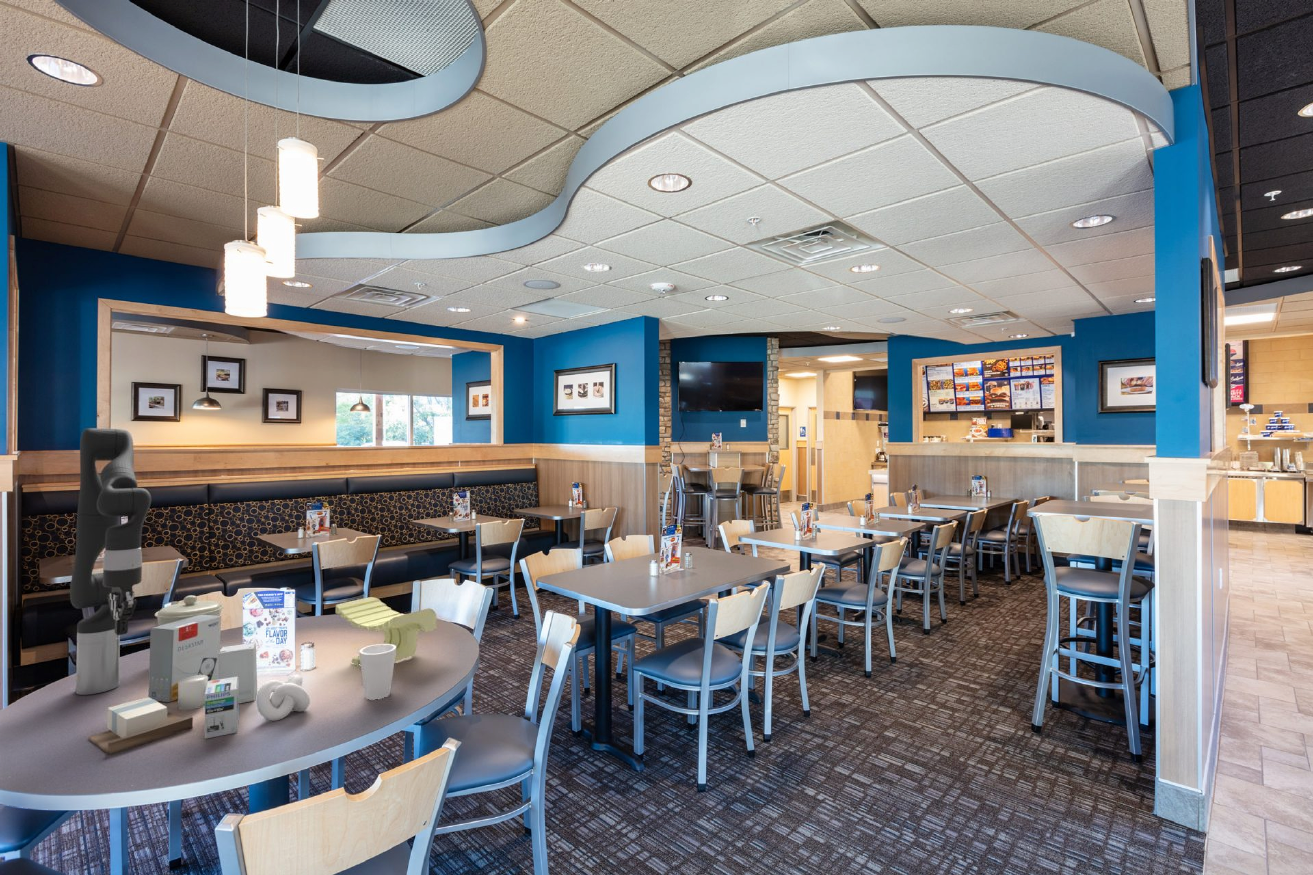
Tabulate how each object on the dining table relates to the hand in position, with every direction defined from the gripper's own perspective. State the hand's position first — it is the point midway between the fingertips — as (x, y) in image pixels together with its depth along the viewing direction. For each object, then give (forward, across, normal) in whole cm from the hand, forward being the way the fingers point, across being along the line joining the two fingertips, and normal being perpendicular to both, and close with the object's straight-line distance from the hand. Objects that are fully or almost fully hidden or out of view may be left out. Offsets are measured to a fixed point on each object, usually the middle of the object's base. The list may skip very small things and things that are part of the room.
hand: (121, 633), depth 158 cm
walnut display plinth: (+22, -14, 0) cm, 26 cm away
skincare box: (+22, -12, -22) cm, 33 cm away
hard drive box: (+22, +8, -17) cm, 29 cm away
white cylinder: (+22, -5, -14) cm, 27 cm away
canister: (+23, +38, -29) cm, 53 cm away
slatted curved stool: (+22, -16, -64) cm, 70 cm away
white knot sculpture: (+22, -31, -25) cm, 46 cm away
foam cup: (+21, -41, -45) cm, 65 cm away
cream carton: (+19, -6, 0) cm, 20 cm away
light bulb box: (+22, -27, -12) cm, 37 cm away
